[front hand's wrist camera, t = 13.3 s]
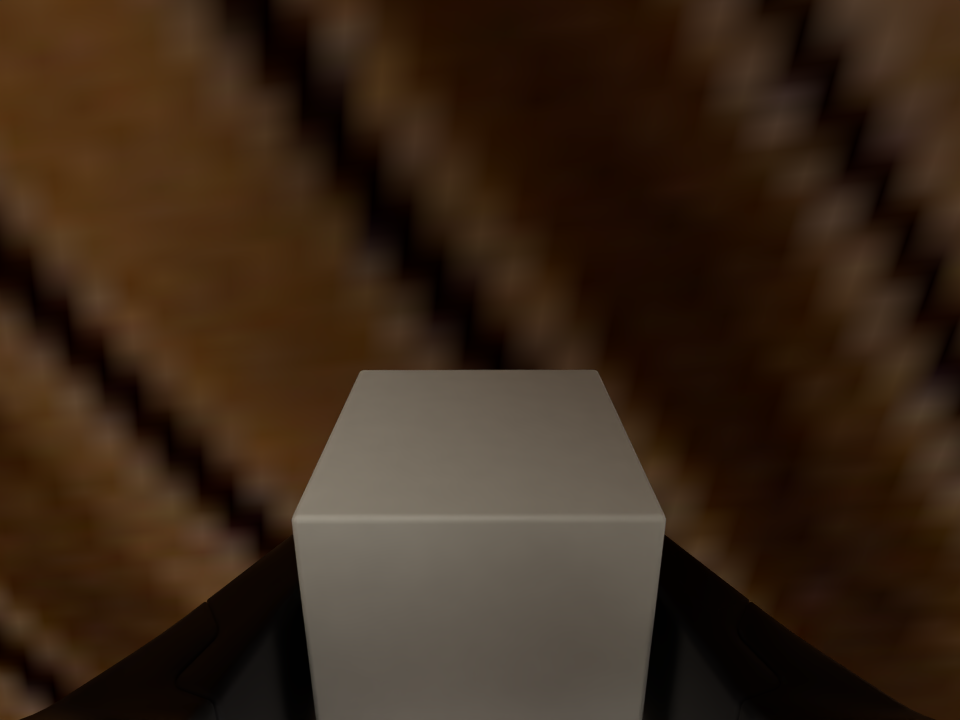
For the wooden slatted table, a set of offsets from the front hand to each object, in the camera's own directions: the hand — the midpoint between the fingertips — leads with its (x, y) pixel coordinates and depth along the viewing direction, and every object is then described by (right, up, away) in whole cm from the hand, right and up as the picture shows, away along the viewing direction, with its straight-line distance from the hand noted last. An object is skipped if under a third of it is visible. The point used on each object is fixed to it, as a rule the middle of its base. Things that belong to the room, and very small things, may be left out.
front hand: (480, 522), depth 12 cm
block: (0, 0, +1) cm, 1 cm away
